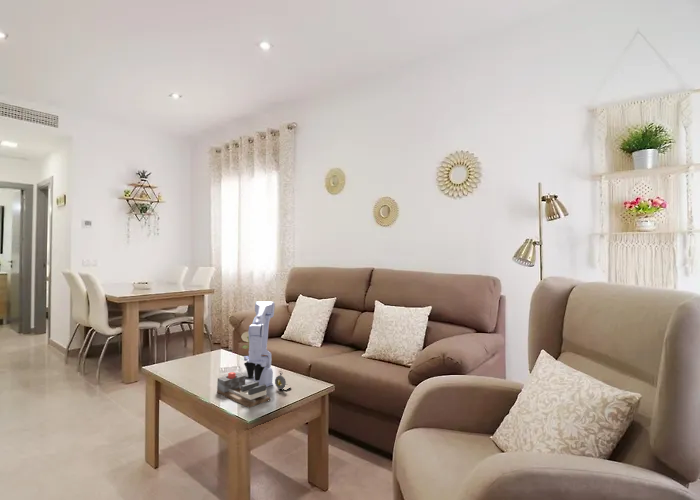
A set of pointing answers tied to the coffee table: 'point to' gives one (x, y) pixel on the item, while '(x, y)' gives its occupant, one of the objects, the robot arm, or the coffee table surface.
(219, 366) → the coffee table surface
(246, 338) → the flower in vase
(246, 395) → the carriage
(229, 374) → the button
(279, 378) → the pocket watch
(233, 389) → the rail board
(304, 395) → the coffee table surface
